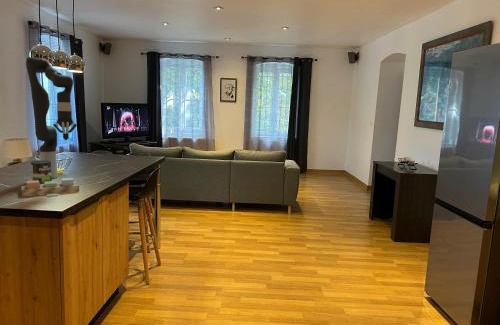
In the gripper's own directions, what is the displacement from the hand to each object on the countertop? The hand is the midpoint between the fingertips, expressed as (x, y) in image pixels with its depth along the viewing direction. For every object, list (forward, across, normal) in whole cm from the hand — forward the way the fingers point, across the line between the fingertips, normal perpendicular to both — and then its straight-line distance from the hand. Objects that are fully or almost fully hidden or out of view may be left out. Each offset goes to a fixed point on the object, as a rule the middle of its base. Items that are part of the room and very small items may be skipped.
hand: (65, 139), depth 216 cm
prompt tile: (+27, +10, +24) cm, 37 cm away
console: (+27, +10, +16) cm, 33 cm away
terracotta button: (+25, +18, +16) cm, 34 cm away
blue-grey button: (+25, +2, +16) cm, 29 cm away
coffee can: (+27, +13, -4) cm, 31 cm away
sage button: (+26, +10, +16) cm, 32 cm away
